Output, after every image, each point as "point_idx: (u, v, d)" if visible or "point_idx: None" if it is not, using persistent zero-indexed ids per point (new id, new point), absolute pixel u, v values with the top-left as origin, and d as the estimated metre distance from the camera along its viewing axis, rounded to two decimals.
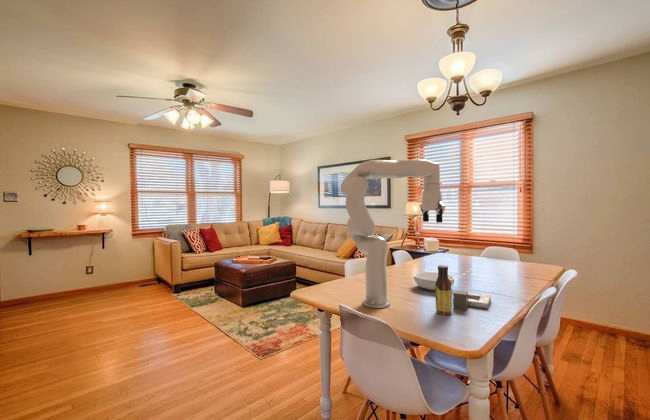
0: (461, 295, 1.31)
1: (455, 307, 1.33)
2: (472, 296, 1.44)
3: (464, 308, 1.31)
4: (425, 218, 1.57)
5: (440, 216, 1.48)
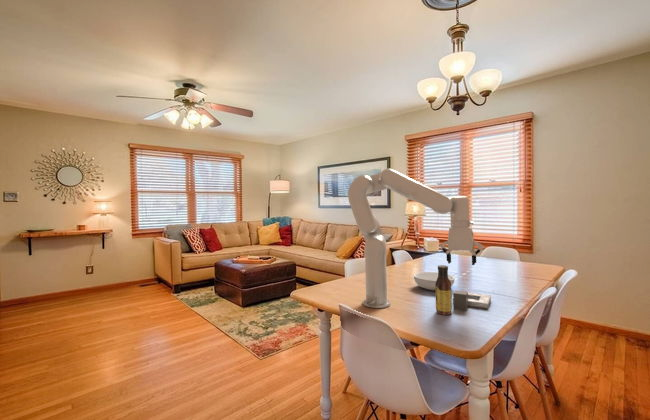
0: (461, 295, 1.31)
1: (455, 307, 1.33)
2: (472, 296, 1.44)
3: (464, 308, 1.31)
4: None
5: None
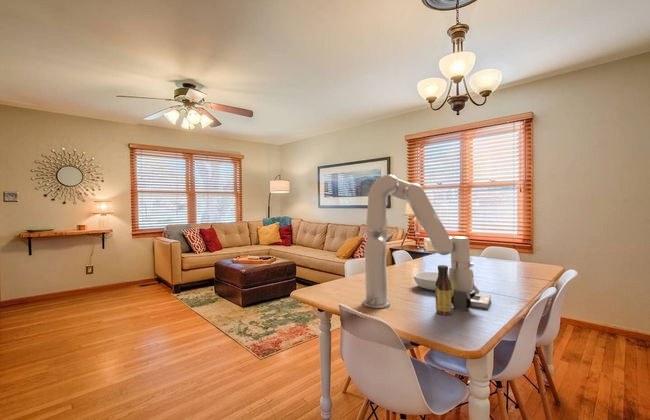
0: (461, 295, 1.31)
1: (455, 307, 1.33)
2: None
3: (464, 308, 1.31)
4: None
5: None
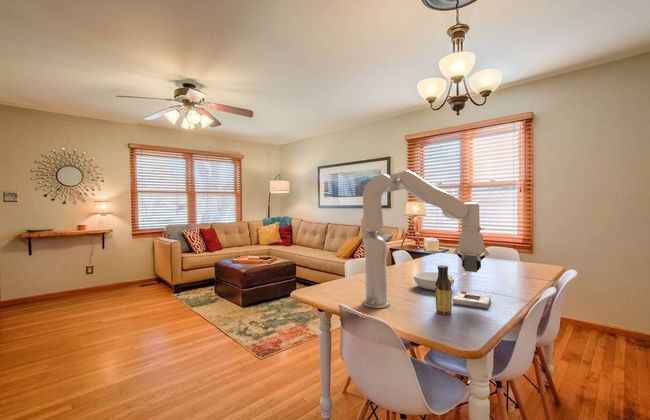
0: (472, 257, 1.38)
1: (466, 269, 1.40)
2: (472, 296, 1.44)
3: (475, 269, 1.38)
4: None
5: None
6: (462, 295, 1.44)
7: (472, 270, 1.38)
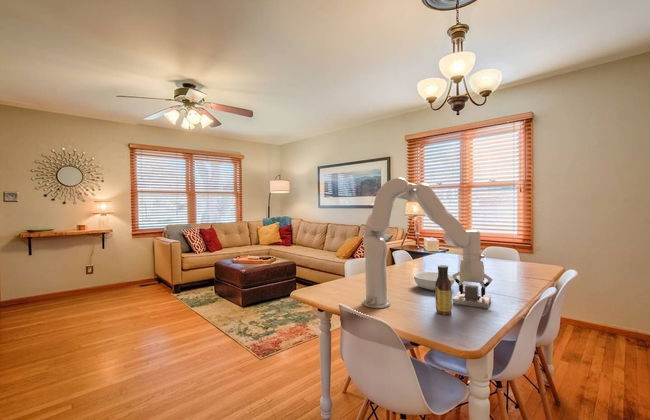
0: (472, 289, 1.39)
1: None
2: None
3: None
4: None
5: None
6: (462, 295, 1.44)
7: None
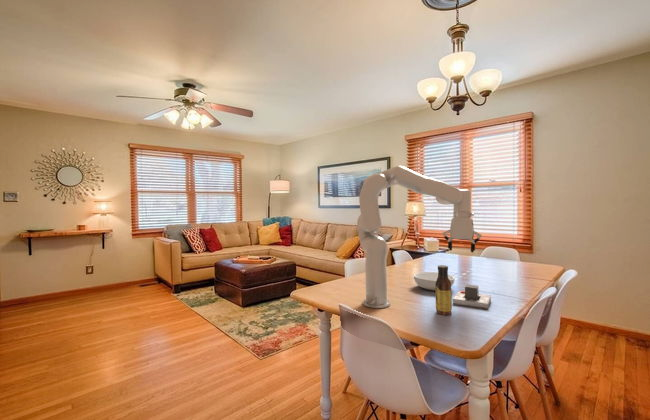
0: (472, 289, 1.39)
1: None
2: None
3: None
4: None
5: None
6: (462, 295, 1.44)
7: None
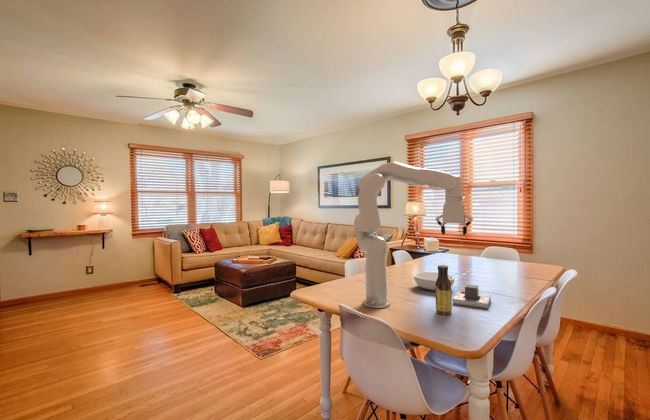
0: (472, 289, 1.39)
1: None
2: None
3: None
4: None
5: None
6: (462, 295, 1.44)
7: None
